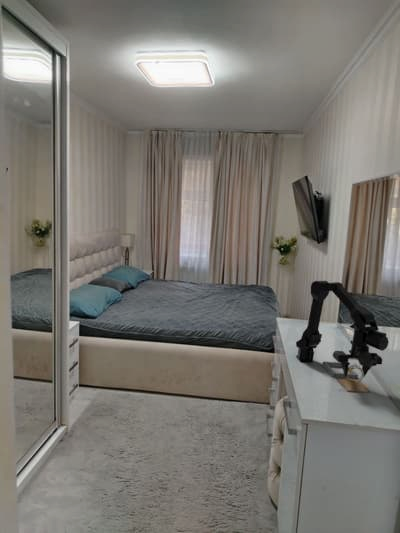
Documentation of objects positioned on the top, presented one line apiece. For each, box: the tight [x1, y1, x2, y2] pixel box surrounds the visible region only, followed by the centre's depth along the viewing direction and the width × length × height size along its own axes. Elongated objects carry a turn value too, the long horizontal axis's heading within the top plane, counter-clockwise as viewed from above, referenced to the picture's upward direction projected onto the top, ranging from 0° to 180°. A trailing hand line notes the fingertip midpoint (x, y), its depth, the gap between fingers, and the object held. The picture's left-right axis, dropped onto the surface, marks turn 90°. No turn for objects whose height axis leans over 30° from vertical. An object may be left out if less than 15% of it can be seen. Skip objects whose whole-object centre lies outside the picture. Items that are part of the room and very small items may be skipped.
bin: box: [322, 361, 359, 380], centre depth 166 cm, size 11×13×2 cm
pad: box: [335, 378, 372, 394], centre depth 153 cm, size 10×10×1 cm
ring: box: [347, 363, 365, 383], centre depth 153 cm, size 7×3×8 cm, turn 74°
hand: (354, 376), depth 153 cm, fingers closed on ring, 7 cm apart
